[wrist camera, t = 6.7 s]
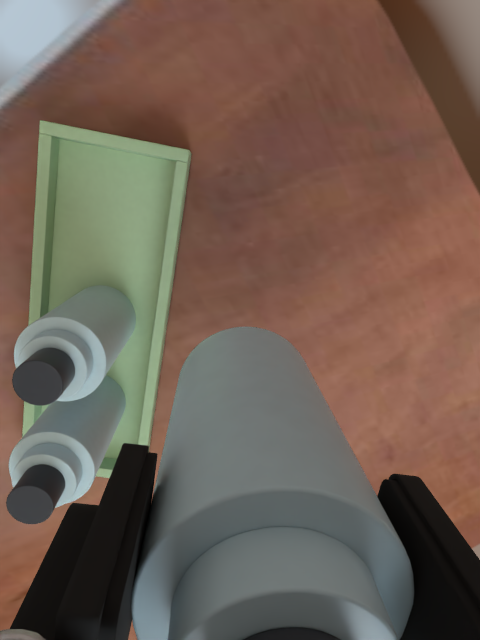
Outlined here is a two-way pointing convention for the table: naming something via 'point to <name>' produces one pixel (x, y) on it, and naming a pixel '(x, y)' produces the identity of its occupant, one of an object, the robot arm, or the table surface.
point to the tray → (110, 250)
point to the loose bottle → (264, 511)
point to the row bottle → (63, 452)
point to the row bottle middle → (72, 346)
